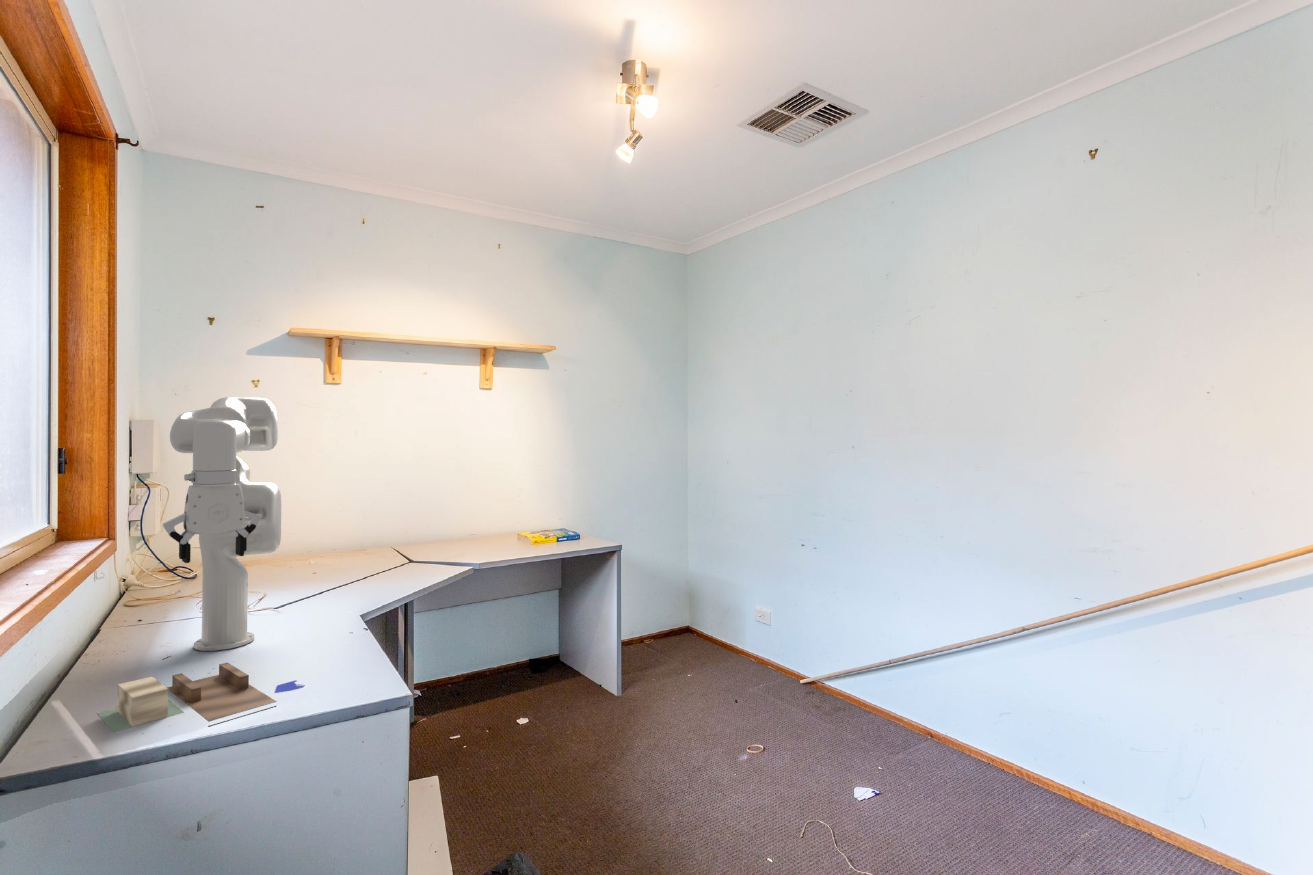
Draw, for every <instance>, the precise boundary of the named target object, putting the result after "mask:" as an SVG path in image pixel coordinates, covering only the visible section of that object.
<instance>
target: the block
mask: <svg viewBox="0 0 1313 875" xmlns="http://www.w3.org/2000/svg"><path fill="white" fill-rule="evenodd" d="M168 699H169V689H168V688H167V686H165V685H164V684H162V683H161V682H160V681H158V679H156V678H155V677H153V676H147V677H143V678H139V679H136V680H131V681H130V680H129V681H127V682H122V683H118V684H117V708H118V709H117V711H118V713H119V714H120V715H121V716H122V717H123V718H124V719H125V720H126V721H127V722H128V723H129V724H130V725H131V726H134V727H137V726H140V725H139V724H141V725H144V724H143V723H145V724H148V723H151V722H150V721H152V722H155V721H158V720H157V719H159V720H162V719H161V718H163V719H166V718H169V717H168ZM165 717H166V718H165ZM154 720H155V721H154ZM147 722H148V723H147ZM136 725H137V726H136Z"/></svg>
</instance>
